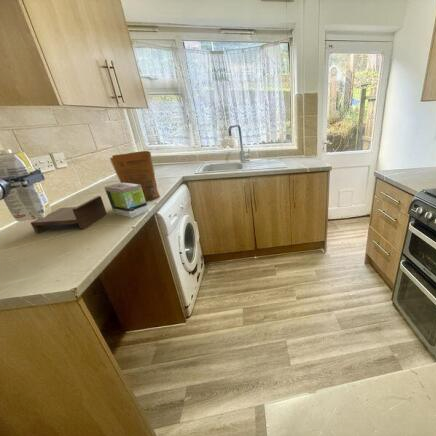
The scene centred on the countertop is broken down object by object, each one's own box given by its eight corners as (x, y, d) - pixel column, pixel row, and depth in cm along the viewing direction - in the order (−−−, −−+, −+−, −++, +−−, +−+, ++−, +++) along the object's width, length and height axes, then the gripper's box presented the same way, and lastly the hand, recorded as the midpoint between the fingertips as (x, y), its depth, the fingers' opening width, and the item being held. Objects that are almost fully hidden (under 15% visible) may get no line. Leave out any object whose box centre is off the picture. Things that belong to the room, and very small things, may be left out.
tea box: (149, 211, 127) (141, 183, 121) (130, 218, 119) (120, 189, 113) (132, 207, 134) (123, 181, 128) (113, 214, 126) (102, 186, 120)
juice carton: (55, 211, 95) (26, 147, 85) (47, 218, 88) (14, 150, 78) (23, 215, 91) (-11, 149, 81) (12, 223, 84) (-26, 152, 75)
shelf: (35, 233, 107) (24, 212, 103) (65, 217, 123) (57, 198, 119) (84, 229, 109) (75, 209, 105) (107, 214, 125) (100, 195, 121)
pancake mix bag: (163, 199, 144) (149, 151, 133) (126, 205, 137) (108, 155, 125) (163, 196, 150) (150, 149, 138) (127, 202, 143) (110, 153, 131)
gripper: (-65, 210, 66) (-16, 189, 84) (41, 197, 75) (64, 180, 93) (-83, 183, 63) (-28, 167, 81) (30, 172, 72) (56, 161, 90)
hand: (21, 174), depth 87 cm, fingers closed on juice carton, 9 cm apart
